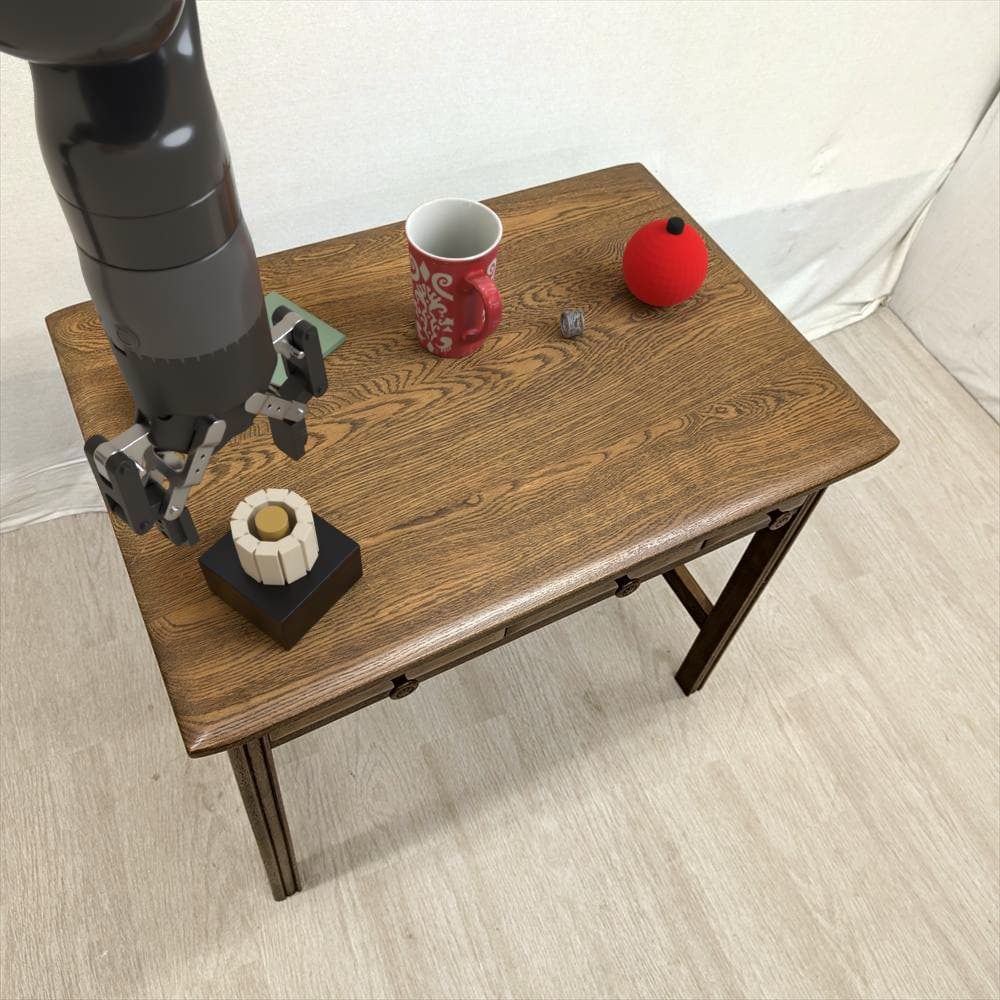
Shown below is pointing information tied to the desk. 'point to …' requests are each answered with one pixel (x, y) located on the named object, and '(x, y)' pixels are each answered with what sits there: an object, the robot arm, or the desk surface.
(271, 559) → the ring
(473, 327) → the mug
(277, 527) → the ring stand
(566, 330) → the decorative ring
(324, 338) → the mat
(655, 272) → the ornament
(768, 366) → the desk surface
